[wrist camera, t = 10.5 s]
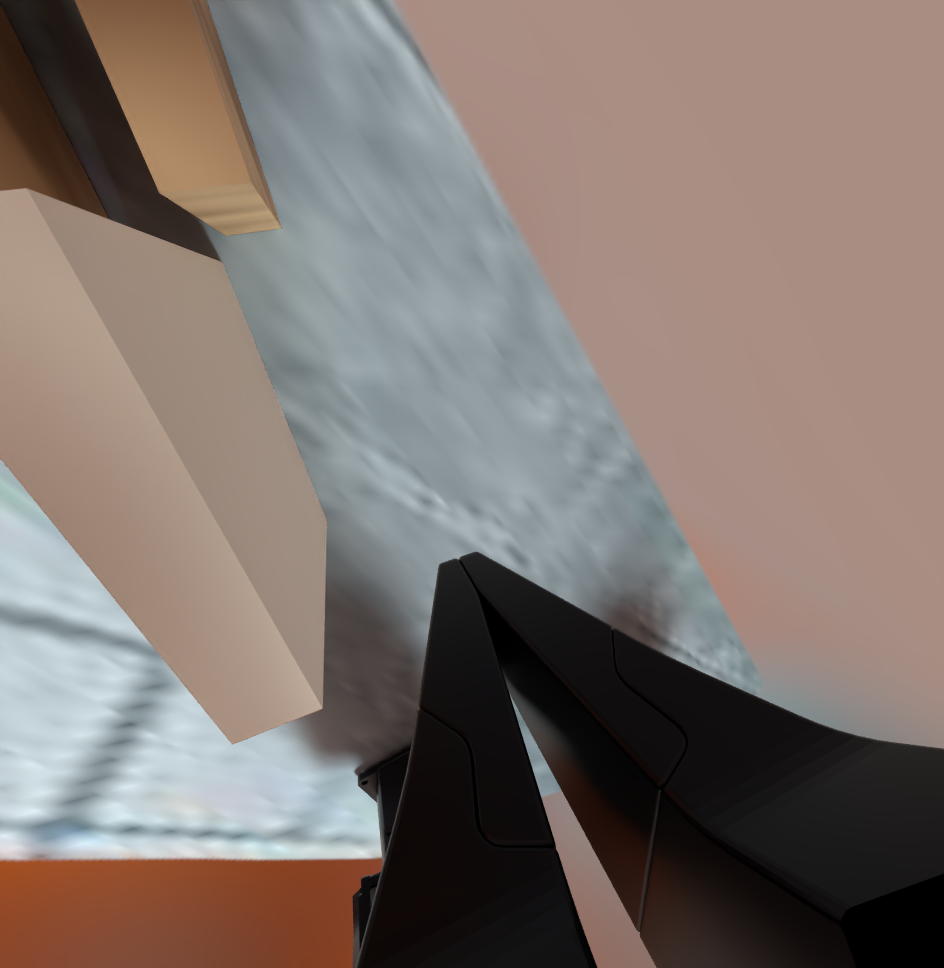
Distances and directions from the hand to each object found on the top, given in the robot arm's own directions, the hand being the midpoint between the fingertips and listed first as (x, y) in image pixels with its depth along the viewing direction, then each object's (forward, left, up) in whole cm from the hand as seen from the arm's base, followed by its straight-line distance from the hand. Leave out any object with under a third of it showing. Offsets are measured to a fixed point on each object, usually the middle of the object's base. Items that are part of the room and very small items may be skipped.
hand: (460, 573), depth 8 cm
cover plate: (+2, +5, -13) cm, 14 cm away
